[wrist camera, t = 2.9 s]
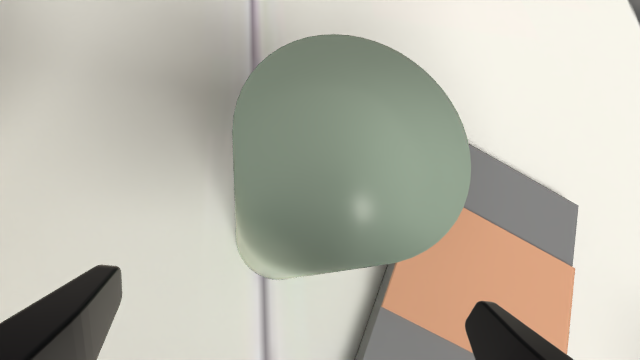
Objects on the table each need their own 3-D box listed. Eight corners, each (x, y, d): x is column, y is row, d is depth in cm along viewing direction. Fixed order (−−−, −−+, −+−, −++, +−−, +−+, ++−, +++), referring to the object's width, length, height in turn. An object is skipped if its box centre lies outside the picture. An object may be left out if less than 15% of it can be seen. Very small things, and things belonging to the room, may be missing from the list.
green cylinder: (333, 262, 18) (510, 217, 6) (250, 293, 17) (281, 310, 5) (306, 184, 20) (413, 24, 8) (225, 206, 18) (201, 48, 6)
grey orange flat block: (532, 491, 17) (552, 505, 16) (340, 399, 16) (348, 407, 15) (565, 208, 24) (581, 205, 23) (433, 134, 23) (442, 126, 22)
